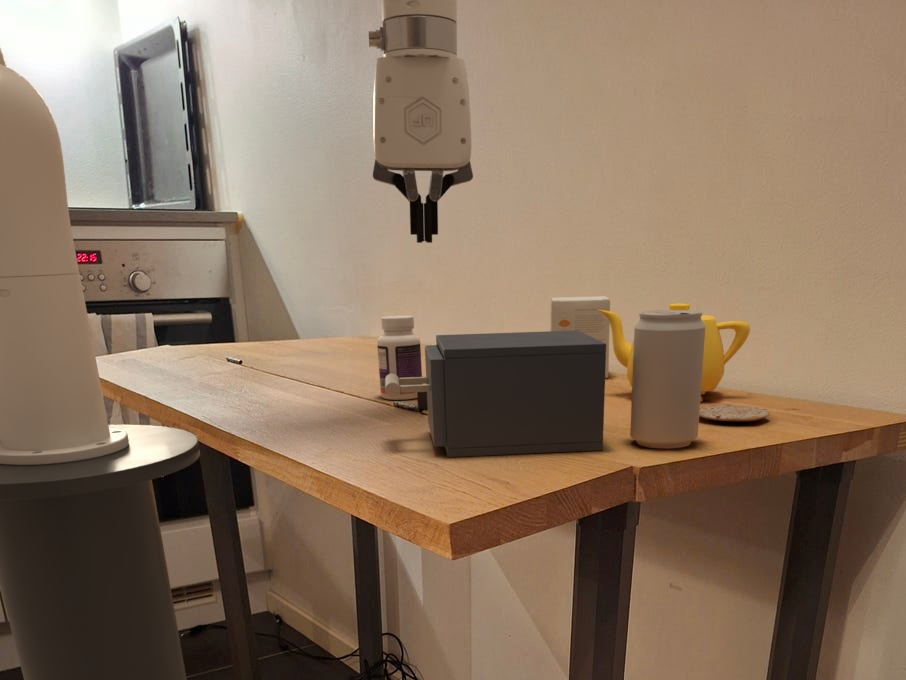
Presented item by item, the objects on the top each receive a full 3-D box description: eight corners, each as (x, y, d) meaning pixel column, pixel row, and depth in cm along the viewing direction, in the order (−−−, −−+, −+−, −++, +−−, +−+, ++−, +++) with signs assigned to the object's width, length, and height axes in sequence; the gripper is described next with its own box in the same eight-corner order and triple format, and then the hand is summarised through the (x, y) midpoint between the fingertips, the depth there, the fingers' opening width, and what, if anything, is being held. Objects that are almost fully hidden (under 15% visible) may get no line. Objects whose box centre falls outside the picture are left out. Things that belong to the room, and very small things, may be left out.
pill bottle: (428, 393, 117) (424, 314, 113) (416, 400, 113) (411, 318, 109) (388, 393, 119) (383, 314, 115) (375, 400, 114) (369, 318, 110)
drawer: (388, 448, 83) (383, 361, 80) (387, 425, 94) (382, 347, 90) (577, 440, 85) (579, 354, 81) (556, 418, 95) (557, 340, 92)
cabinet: (447, 457, 83) (443, 349, 80) (439, 430, 95) (435, 335, 91) (602, 450, 85) (606, 343, 81) (576, 425, 96) (578, 330, 92)
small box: (605, 373, 131) (607, 295, 127) (608, 378, 126) (611, 298, 121) (549, 374, 131) (550, 297, 127) (551, 379, 126) (551, 299, 122)
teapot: (588, 401, 109) (590, 307, 105) (602, 387, 119) (605, 300, 114) (742, 405, 104) (752, 307, 100) (744, 390, 114) (752, 300, 110)
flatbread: (678, 416, 98) (679, 407, 98) (729, 408, 102) (730, 399, 101) (734, 428, 92) (735, 418, 92) (785, 419, 96) (786, 409, 95)
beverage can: (674, 453, 83) (683, 315, 78) (616, 444, 87) (621, 312, 82) (709, 441, 87) (720, 309, 82) (652, 433, 91) (659, 307, 86)
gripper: (344, 36, 88) (354, 242, 95) (497, 39, 89) (495, 242, 96) (347, 51, 95) (356, 242, 102) (489, 54, 96) (488, 243, 103)
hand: (424, 242), depth 99 cm, fingers closed
